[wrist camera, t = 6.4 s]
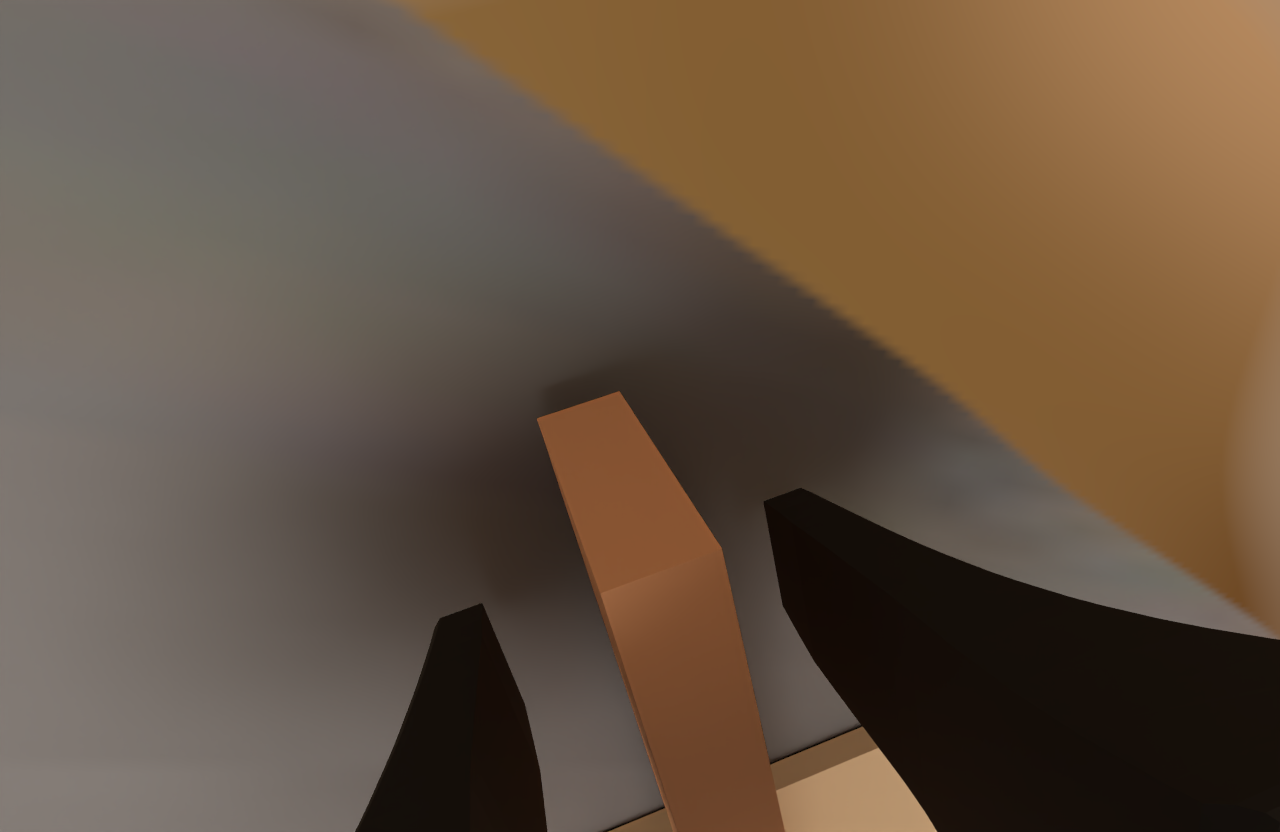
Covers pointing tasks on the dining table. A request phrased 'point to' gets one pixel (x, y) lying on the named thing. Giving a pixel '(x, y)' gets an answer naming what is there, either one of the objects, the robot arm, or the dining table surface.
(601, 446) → the long copper stick
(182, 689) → the dining table surface
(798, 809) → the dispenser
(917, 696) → the robot arm
